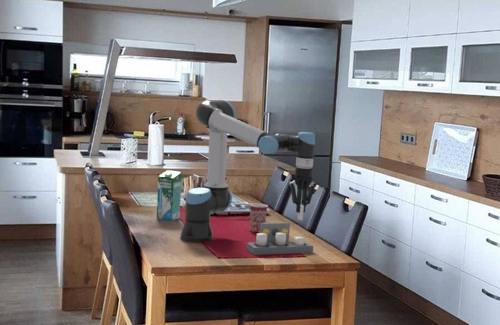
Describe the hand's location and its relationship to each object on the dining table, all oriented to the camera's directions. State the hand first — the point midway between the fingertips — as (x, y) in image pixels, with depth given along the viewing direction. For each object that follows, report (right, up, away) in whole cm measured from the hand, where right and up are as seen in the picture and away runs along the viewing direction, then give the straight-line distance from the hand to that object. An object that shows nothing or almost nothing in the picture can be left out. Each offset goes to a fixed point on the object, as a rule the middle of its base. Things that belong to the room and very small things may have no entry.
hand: (299, 219), depth 298 cm
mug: (-19, -9, +40) cm, 45 cm away
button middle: (-9, -11, -2) cm, 14 cm away
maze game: (-31, -3, +84) cm, 90 cm away
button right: (-1, -13, +2) cm, 13 cm away
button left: (-17, -11, -5) cm, 21 cm away
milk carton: (-66, -4, +56) cm, 87 cm away
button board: (-9, -15, -1) cm, 17 cm away
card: (-12, -14, +5) cm, 19 cm away
